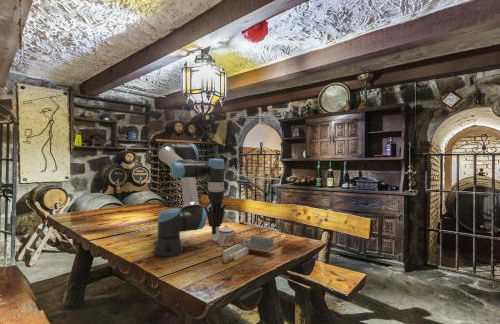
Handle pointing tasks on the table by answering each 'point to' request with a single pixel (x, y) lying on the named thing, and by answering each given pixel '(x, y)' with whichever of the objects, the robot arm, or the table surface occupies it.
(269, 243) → the cover
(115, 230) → the table surface
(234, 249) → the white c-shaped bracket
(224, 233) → the teacup with lid
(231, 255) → the dowel
